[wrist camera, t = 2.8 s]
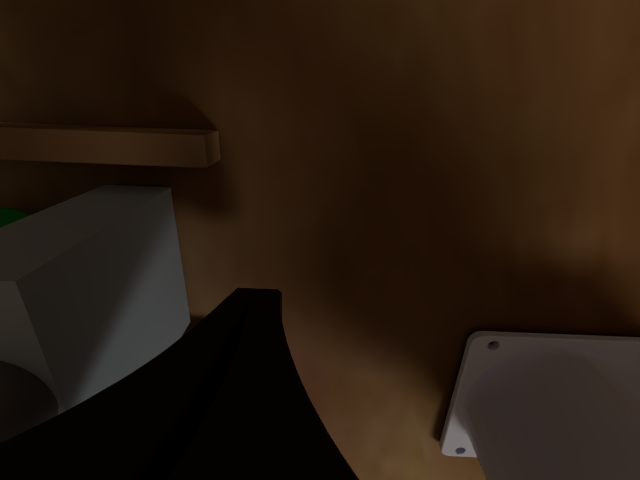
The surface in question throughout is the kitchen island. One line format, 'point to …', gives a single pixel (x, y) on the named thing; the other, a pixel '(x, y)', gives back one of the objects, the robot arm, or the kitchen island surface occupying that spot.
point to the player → (85, 299)
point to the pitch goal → (109, 145)
